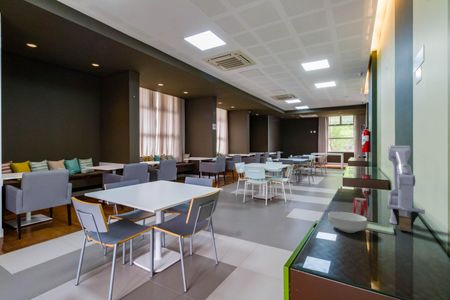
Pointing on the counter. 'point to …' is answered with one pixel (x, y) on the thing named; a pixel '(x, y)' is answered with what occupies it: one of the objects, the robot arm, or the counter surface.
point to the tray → (379, 228)
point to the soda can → (360, 207)
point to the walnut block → (404, 223)
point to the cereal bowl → (347, 221)
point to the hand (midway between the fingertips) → (404, 225)
